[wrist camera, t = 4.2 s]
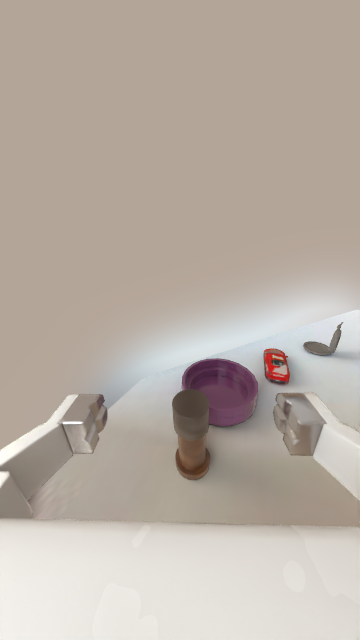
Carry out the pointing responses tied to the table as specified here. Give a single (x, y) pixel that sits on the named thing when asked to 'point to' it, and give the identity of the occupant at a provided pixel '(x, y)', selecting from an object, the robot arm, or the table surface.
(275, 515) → the table surface
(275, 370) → the race car
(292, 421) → the robot arm
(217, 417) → the bowl
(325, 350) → the pocket watch
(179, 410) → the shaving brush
